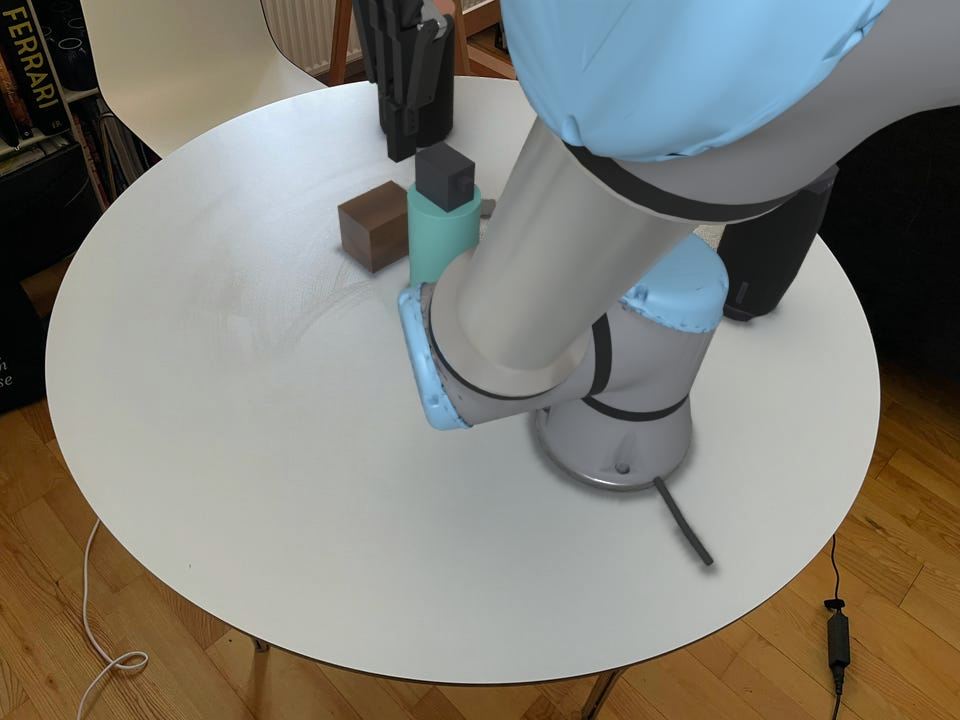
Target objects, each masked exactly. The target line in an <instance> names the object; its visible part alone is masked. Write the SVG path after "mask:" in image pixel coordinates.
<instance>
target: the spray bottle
mask: <svg viewBox="0 0 960 720" xmlns="http://www.w3.org/2000/svg"><path fill="white" fill-rule="evenodd" d="M414 173H415V174H414V178H415V179H414V180H415V181H414V182H413V183H412V184H411V185H410V186H409V188H408V190H407V192H408V193H407V205H408V235H409V254H408V261H409V287H412V286H415V285H417V284H418V283H419V282H421V283H422V282H428V283H432V282H438V280H439V278H440V276H441V274H442V273H443V271H444V270H445V268H446V267H447V266H448V265H449V264H450V263H451V262H452V261H453V260H454V259H455V258H456V257H457V256H459V255H460V254H461V253H463V252H464V251H466V250H467V249H469V248H471V247H473V246H476V245H478V244H479V242H480V234H481V217H482V215H481V200H482V199H483V197H482V192H481V189H480V187H479V186H478V185H477V184H476V183H475V180H476V179H475V178H476V162H475V161H474V160H472V159H471V158H469V157H467V156H465V154H463V153H462V152H460V151H458V150H457V149H455V148H453V147H452V146H451V145H449V144H448V143H446V142H444V140H443V141H440V142H438V143H436V144H434V145H432V146H430V147H425V148H422V149H421V150H419V151H417V153H415V155H414Z"/></svg>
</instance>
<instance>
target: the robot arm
mask: <svg viewBox="0 0 960 720" xmlns="http://www.w3.org/2000/svg"><path fill="white" fill-rule="evenodd" d="M350 2H351V7H352V12H353V17H354V21H355V26H356V31H357V36H358V41H359V47H360V50H361V56H362V60H363V61H362V62H363V65H364V70H365V74H366V79H367V81H368V82H369V83H370V84H371V85H374V84H376V86H377V85H378V88H377V91H378V90H379V93H380V95H381V96H382V97H383V108H384V109H383V112H384V120H385V123H386V134H387V136H386V150H387V151H386V152H387V153H386V154H387V158H388V159H390V160H391V161H393V162H394V163H395V164H398V163H399V164H400V163H401V162H403V161H405V160H407V159H409V158H411V157H415V153H417V152H418V151H417V149H418V148H416V132H417V131H418V128H419V126H418V108H419V107H421V106H423V105H426V104H428V103H430V102H432V101H433V100H434V96H435V91H436V86H437V81H438V75H439V70H440V65H441V60H442V55H443V50H444V45H445V39H446V37H447V35H448V34H449V32H450V31H451V29H452V27H453V25H454V23H455V21H454V18H452V16H451V15H450V14H449V13H447V14H444V15H441V13H440V12H439V10H438V8H437V7H436V5H435V4H434V2H433V0H350ZM499 3H500V12H501V19H502V24H503V29H504V35H505V40H506V45H507V50H508V53H509V56H510V60H511V64H512V67H513V69H514V72H515V75H516V78H517V81H518V83H519V85H520V87H521V89H522V92H523V94H524V96H525V98H526V99H527V102H528V104H529V105H530V107H531V108H532V110H534V112H535V114H536V116H535V119H534V121H533V123H532V126H531V128H530V130H529V132H528V134H527V137H526V139H525V141H524V144H523V145H522V148H521V150H520V152H519V154H518V156H517V158H516V161H515V163H514V165H513V168H512V170H511V172H510V174H509V176H508V179H507V180H506V183H505V185H504V186H503V188H502V189H503V190H502V192H501V193H500V196H499V198H498V200H497V201H496V207H495V209H494V211H493V213H492V215H491V216H490V217H489V220H488V222H487V224H486V227H485V229H484V231H483V233H482V236H481V238H480V239H479V244H478V245H476V246H473V247H471V248H469V249H467V250H466V251H464V252H463V253H461V254H460V255H459V256H457V257H456V258H455V259H454V260H453V261H452V262H451V263H450V264H449V265H448V266H447V267H446V268H445V270H444V271H443V273H442V274H441V276H440V278H439V280H438V282H432V283H428V282H422V283H421V282H419V283H418V284H417V285H415V286H412V287H410V286H409V287H406V288H404V289H402V290H400V292H399V294H398V295H397V298H396V304H397V305H396V306H397V309H398V316H399V320H400V324H401V329H402V333H403V338H404V342H405V345H406V350H407V354H408V358H409V362H410V367H411V370H412V374H413V377H414V382H415V385H416V388H417V389H416V390H417V392H418V396H419V399H420V403H421V408H422V409H423V413H424V416H425V418H426V421H427V423H428V425H429V426H430V427H432V428H433V429H435V430H437V431H440V432H441V431H443V432H446V431H451V430H457V429H464V430H469V429H472V428H473V427H474V426H476V425H480V424H484V423H488V422H493V421H497V420H501V419H504V418H508V417H509V418H510V417H512V416H517V415H521V414H524V413H529V412H532V411H536V416H535V425H536V427H535V428H536V433H537V437H538V440H539V442H540V444H541V447H542V448H543V450H544V451H545V454H546V455H547V456H548V457H549V459H550V460H551V461H552V462H553V463H554V465H556V466H557V467H558V468H559V470H561V471H562V472H564V473H565V474H566V475H567V476H570V477H571V478H573V479H574V480H576V481H578V482H580V483H581V484H584V485H587V486H588V487H589V486H590V487H592V488H594V489H599V490H603V491H609V492H616V493H617V492H618V493H629V492H630V493H631V492H638V491H643V490H648V489H650V488H653V487H656V489H657V490H658V492H659V494H660V495H661V497H662V499H663V500H664V502H665V504H666V506H667V508H668V509H669V511H670V512H671V514H672V517H673V518H674V520H675V521H676V523H677V525H678V526H679V528H680V529H681V532H682V533H683V535H684V536H685V537H686V539H687V540H688V541H689V543H690V545H691V546H692V547H693V549H694V550H695V552H696V553H697V554H698V556H699V557H700V558H701V560H702V562H703V563H704V564H705V566H707V567H708V566H711V565H712V564H714V562H715V561H714V559H713V557H712V556H711V555H710V553H709V552H708V551H707V550H706V548H705V547H704V545H703V544H702V543H701V541H700V540H699V538H698V537H697V536H696V533H694V531H693V530H692V528H691V527H690V525H689V523H688V522H687V520H686V519H685V517H684V516H683V514H682V512H681V510H680V508H679V506H678V505H677V503H676V502H675V500H674V497H672V495H671V493H670V491H669V490H668V488H667V486H666V485H665V483H664V482H665V481H666V480H668V479H669V478H671V477H672V476H673V475H674V474H675V473H676V472H677V471H678V470H679V468H680V467H681V465H682V464H683V463H684V460H685V458H686V457H687V453H688V451H689V448H690V445H691V442H692V436H693V419H692V409H691V397H690V393H691V390H692V388H693V386H694V383H695V382H696V378H697V377H698V374H699V371H700V369H701V366H702V364H703V362H704V359H705V357H706V354H707V352H708V349H709V347H710V345H711V343H712V341H713V338H714V335H715V333H716V331H717V329H718V327H719V325H720V323H721V322H722V319H723V316H724V315H723V310H722V309H723V306H724V303H725V300H726V296H727V293H728V288H729V279H728V274H727V271H726V268H725V265H724V263H723V261H722V260H721V258H720V257H719V255H718V254H717V253H716V251H717V250H715V249H714V248H713V247H712V246H711V245H710V243H708V242H707V241H706V240H705V239H704V238H702V237H701V236H699V235H697V234H696V233H695V232H694V231H695V230H697V228H698V227H700V226H712V227H713V226H717V227H718V226H725V225H726V224H734V223H739V222H743V221H746V220H750V219H754V218H757V217H759V216H761V215H764V214H766V213H768V212H770V211H772V210H774V209H775V208H777V207H778V206H780V205H782V204H783V203H785V202H787V201H788V200H789V199H791V198H792V197H794V196H795V195H796V194H797V193H798V192H799V191H801V190H802V189H803V188H804V187H806V186H807V185H808V184H809V183H811V182H812V181H813V180H815V179H816V178H818V177H819V176H820V175H821V174H822V173H824V172H825V171H826V170H827V169H828V168H830V167H831V166H832V165H833V164H835V163H836V164H837V162H838V161H840V160H841V159H842V158H843V157H845V156H846V155H847V154H849V152H851V151H852V150H854V149H855V148H856V147H857V146H859V145H860V144H861V143H863V142H864V141H865V140H866V139H868V138H869V137H871V136H872V135H873V134H875V133H876V132H878V131H879V130H881V129H883V128H885V127H887V126H889V125H892V124H893V123H895V122H897V121H900V120H902V119H904V118H907V117H908V116H911V115H914V114H917V113H920V112H924V111H925V112H926V111H931V110H936V109H942V108H943V109H944V108H948V107H954V106H960V0H499ZM376 66H377V68H376Z"/></svg>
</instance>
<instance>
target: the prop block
mask: <svg viewBox="0 0 960 720" xmlns="http://www.w3.org/2000/svg"><path fill="white" fill-rule="evenodd" d="M407 193H408V190H406V189H405V188H403V187H402V186H400V185H399V184H398V183H396V182H395V181H393V180H392V179H390V180H389V181H387V182H386V181H385V182H383V183H382V184H380V185H378V186H376V187H374V188H372V189H370V190H368V191H365V192H364V193H361V194H358V195H357V196H355V197H352V198H351V199H348V200H347V201H344V202H342V203H340V204H338V205H337V214H338V223H339V233H340V240H341V246H342V247H341V249H342V250H344V252H346V253H347V254H348V255H350V256H351V257H352V258H353V259H354V260H356V261H357V262H358V263H359V264H360V265H361V266H363V267H364V269H367V270H368V271H369V272H370V273H371V274H375V273H376V272H379V271H380V270H382V269H384V268H385V267H388V266H389V265H391V264H393V263H395V262H396V261H398V260H400V259H403V258H404V257H405V256H408V255H409V235H408V205H407Z"/></svg>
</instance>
